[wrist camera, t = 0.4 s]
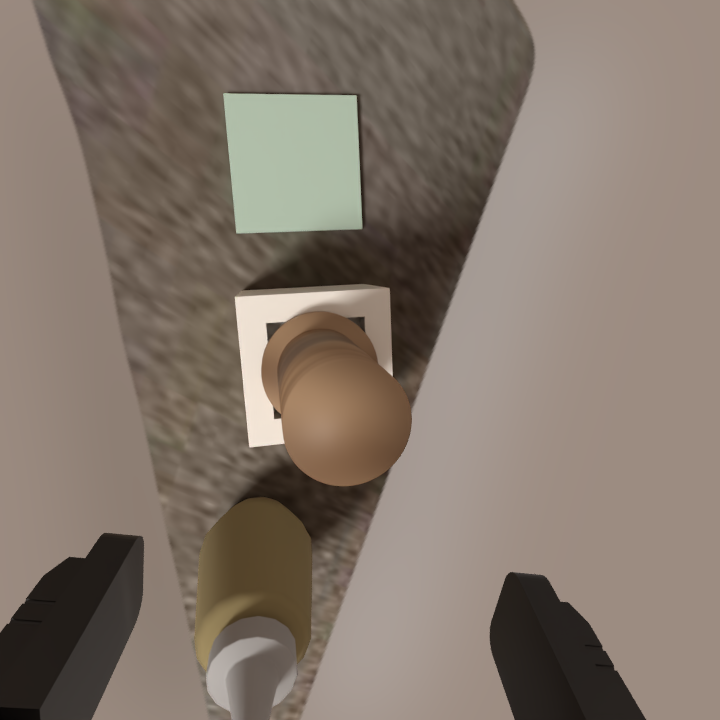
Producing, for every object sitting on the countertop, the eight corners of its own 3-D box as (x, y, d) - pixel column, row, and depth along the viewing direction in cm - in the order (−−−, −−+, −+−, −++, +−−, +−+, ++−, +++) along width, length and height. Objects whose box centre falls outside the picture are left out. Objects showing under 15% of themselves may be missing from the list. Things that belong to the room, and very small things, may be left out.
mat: (223, 95, 32) (223, 93, 32) (355, 97, 34) (356, 95, 33) (236, 233, 34) (236, 233, 34) (361, 229, 36) (362, 228, 35)
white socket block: (242, 290, 35) (234, 296, 27) (363, 283, 36) (389, 288, 29) (253, 409, 37) (249, 447, 29) (368, 398, 38) (394, 431, 30)
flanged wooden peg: (256, 313, 29) (249, 343, 17) (368, 306, 30) (432, 330, 18) (266, 421, 30) (265, 518, 18) (372, 410, 31) (435, 495, 20)
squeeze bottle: (277, 589, 40) (284, 839, 22) (186, 552, 38) (116, 794, 20) (326, 508, 39) (373, 699, 22) (237, 465, 37) (211, 639, 20)
